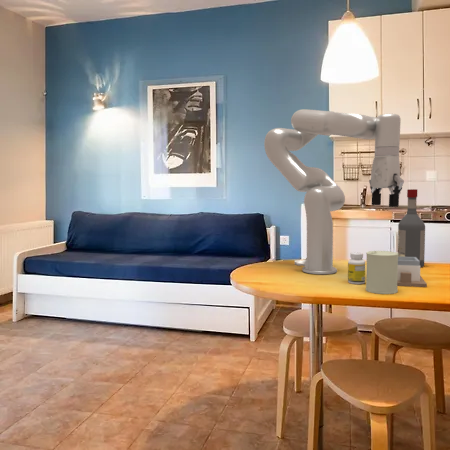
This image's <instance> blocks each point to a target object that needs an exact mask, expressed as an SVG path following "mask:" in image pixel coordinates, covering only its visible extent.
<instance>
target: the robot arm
mask: <svg viewBox="0 0 450 450" xmlns="http://www.w3.org/2000/svg"><path fill="white" fill-rule="evenodd" d="M401 120H402V119H401V117H400V115H399V114H396V113H383V114H380V115H378V116H371V115H365V114H361V113H360V114H359V113H349V112H338V111H336V112H335V111H332V110H331V111H330V110H329V111H328V110H318V109H307V108H305V109H298V110H296V111H295V112H294V113H293V114H292V116H291V119H290V124H291V126H292V128H293V129H292V128H284V127H275V128H272V129H270V130H269V131H268V132H267V133H266V135H265V138H264V142H263V143H264V145H263V146H264V150H265V154H266V156H267V158H268V160H269V161H270V163H272V165H273V166H274V167H276V169H277V170H278V171H279V172H280V173H281V175H282V176H283V177H284V178H285V179H286V180H287V182H288V183H289V184H290V185H291V186H292V187H293V188H294V190H295V191H296V192H301V193H305V194H304V199H303V205H304V209H305V216H306V217H305V218H306V257H305V259H303V260H300V259H294V266H303V267H302V269H301V271H302V272H303V273H307V274H310V275H312V274H313V275H333V274H335V273H337V272H338V268H337V267H335V266H334V265H333V264H334V263H333V262H334V258H333V257H334V256H333V255H334V254H333V253H334V223H333V218H332V214H331V212H334V211H338V210H340V209H341V208H342V207H344V205H345V203H346V196H345V193H344V191H343V189H342V188H341V187H340V186H339V185H338V183H336V182H335V181H334V179H333V178H331V177H330V176H329V174H328V173H327V172H325V170H323V169H321V168H319V167H314V166H312V167H311V166H306V165H305V164H304V163H303V161H301V160H300V159H299V157H297V156H296V155H295V154H294V153H292V152H296V151H299V150H301V149H302V148H304V147H305V146H307V144H309V143H310V142H311V141H312V140H314V139H315V138H316V137H317V136H319V135H320V136H329V137H330V136H340V137H347V138H354V139H362V140H374V157H373V161H372V164H371V171H370V179H369V181H368V182H369V188H370V193H371V206H381V204H382V193H381V191H382V189H388V190H389V193H390V194H389V195H388V207H389V208H399V205H400V195H401V191H402V190H403V185H404V182H405V181H404V179H403V178H402V177H401V166H400V165H401V164H400V163H401V162H400V146H401V145H400V142H401Z"/></svg>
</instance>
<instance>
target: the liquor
mask: <svg viewBox="0 0 450 450" xmlns="http://www.w3.org/2000/svg"><path fill="white" fill-rule="evenodd" d="M406 191H407V192H406V194H407V195H406V198H407V210H406V214H405V215H404V216H403V217H402V218H401V219H400V221H399V222H398V224H397V226H398V227H397V228H398V229H397V253H398V257H416V258H417V259H418V260H419V261H420V268H424V266H425V253H426V252H425V250H426V248H425V246H426V244H425V243H426V225H425V222H424V221H423V220H422V218H421V217H420V216H419V214H418V212H417V198H418V189H407V190H406Z"/></svg>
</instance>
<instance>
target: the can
mask: <svg viewBox="0 0 450 450" xmlns="http://www.w3.org/2000/svg"><path fill="white" fill-rule="evenodd" d="M365 253H366V271H365V283H366V284H365V291H366V292H368V293H372V294H377V295H379V294H380V295H392V294H397V293H398V292H399V291H398V286H397V274H398V252H395V251H388V250H387V251H386V250H370V251H366V252H365Z"/></svg>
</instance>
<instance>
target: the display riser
mask: <svg viewBox="0 0 450 450" xmlns="http://www.w3.org/2000/svg"><path fill="white" fill-rule="evenodd" d="M412 286H413V287H415V288H417V287H419V288H427V287H428V283H427V282H426V281H425V279H423V277H422V275H421V267H420V261H419V260H418V259H417V258H416V257H398V274H397V287H412Z"/></svg>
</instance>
